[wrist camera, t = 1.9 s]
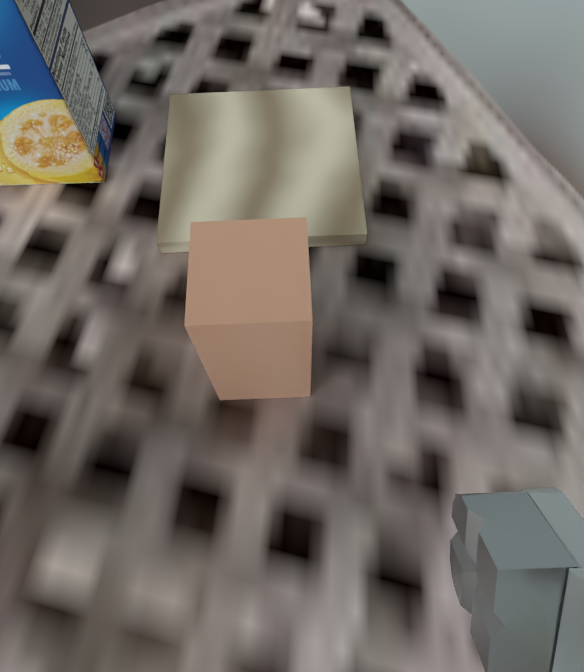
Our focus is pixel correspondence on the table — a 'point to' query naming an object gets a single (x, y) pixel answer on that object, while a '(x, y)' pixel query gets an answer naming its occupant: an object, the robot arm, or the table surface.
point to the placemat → (262, 163)
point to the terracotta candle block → (251, 306)
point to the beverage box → (50, 98)
